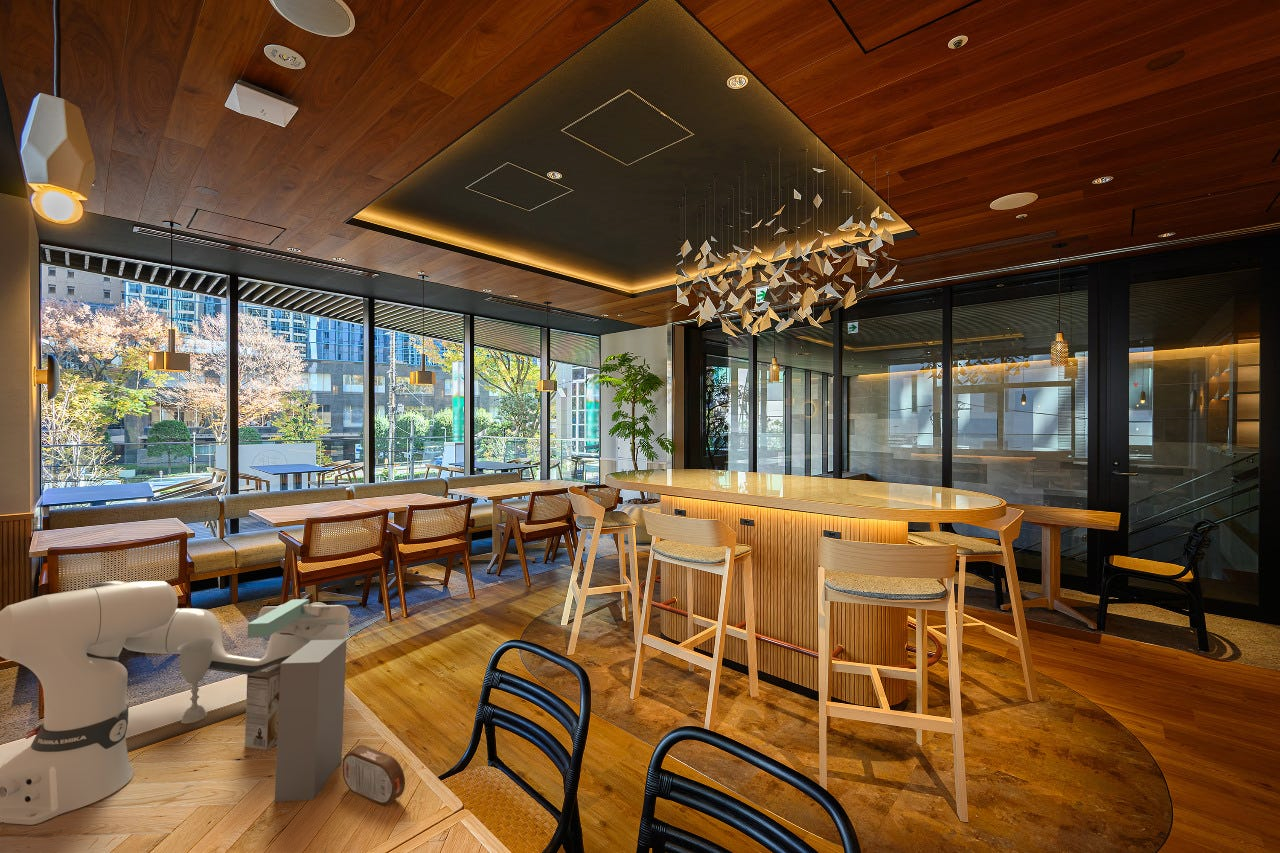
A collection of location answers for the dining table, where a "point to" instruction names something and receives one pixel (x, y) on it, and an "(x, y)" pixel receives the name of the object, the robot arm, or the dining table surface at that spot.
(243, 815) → the dining table surface
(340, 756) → the stand
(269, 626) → the mint green bar
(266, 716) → the coffee box
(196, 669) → the chalice
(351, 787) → the tin
